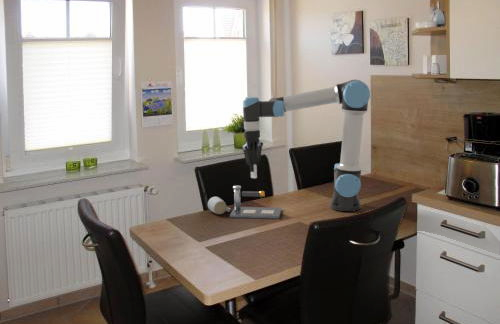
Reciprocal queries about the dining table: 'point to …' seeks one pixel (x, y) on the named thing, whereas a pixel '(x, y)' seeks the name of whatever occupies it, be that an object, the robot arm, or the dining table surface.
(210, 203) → the ceramic mug
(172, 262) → the dining table surface
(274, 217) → the grey base with post
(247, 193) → the swing arm
